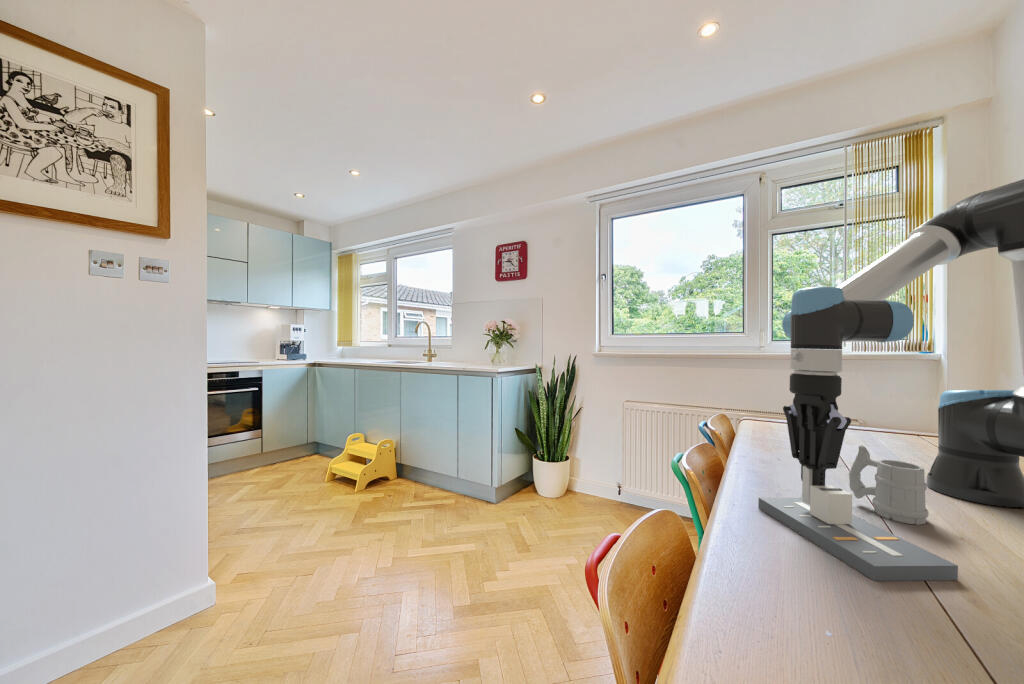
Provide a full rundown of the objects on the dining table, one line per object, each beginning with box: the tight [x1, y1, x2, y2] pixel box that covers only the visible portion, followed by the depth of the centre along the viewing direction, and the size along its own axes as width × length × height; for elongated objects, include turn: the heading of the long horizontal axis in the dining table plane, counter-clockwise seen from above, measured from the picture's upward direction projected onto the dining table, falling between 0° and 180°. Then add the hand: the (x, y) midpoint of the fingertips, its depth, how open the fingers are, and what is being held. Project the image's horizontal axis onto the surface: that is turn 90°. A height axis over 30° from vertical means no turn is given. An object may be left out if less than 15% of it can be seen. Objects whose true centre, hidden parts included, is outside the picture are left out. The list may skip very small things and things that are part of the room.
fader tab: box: [810, 485, 853, 524], centre depth 69 cm, size 4×4×5 cm
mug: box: [848, 444, 929, 526], centre depth 78 cm, size 8×12×12 cm, turn 28°
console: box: [757, 497, 959, 582], centre depth 67 cm, size 12×24×2 cm, turn 3°
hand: (812, 502), depth 73 cm, fingers closed
